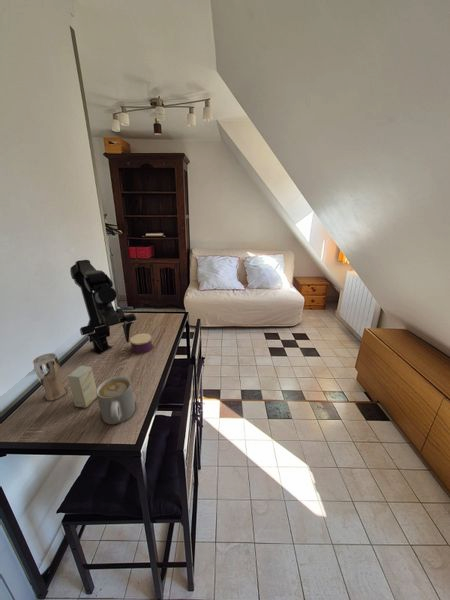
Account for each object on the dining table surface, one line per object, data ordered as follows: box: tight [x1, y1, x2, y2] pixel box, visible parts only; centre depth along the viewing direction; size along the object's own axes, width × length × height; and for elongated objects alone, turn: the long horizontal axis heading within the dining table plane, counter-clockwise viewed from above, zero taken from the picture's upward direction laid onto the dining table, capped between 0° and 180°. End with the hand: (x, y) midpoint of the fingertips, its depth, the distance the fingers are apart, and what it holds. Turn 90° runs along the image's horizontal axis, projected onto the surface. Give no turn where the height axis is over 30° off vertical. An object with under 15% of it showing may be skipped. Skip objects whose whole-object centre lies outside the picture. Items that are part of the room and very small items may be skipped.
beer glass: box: [32, 352, 67, 401], centre depth 86 cm, size 7×7×15 cm
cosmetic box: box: [66, 365, 97, 409], centre depth 84 cm, size 6×4×12 cm
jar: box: [129, 332, 153, 354], centre depth 116 cm, size 9×9×6 cm
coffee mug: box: [96, 376, 136, 425], centre depth 77 cm, size 13×10×10 cm
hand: (115, 346), depth 93 cm, fingers open, 9 cm apart
